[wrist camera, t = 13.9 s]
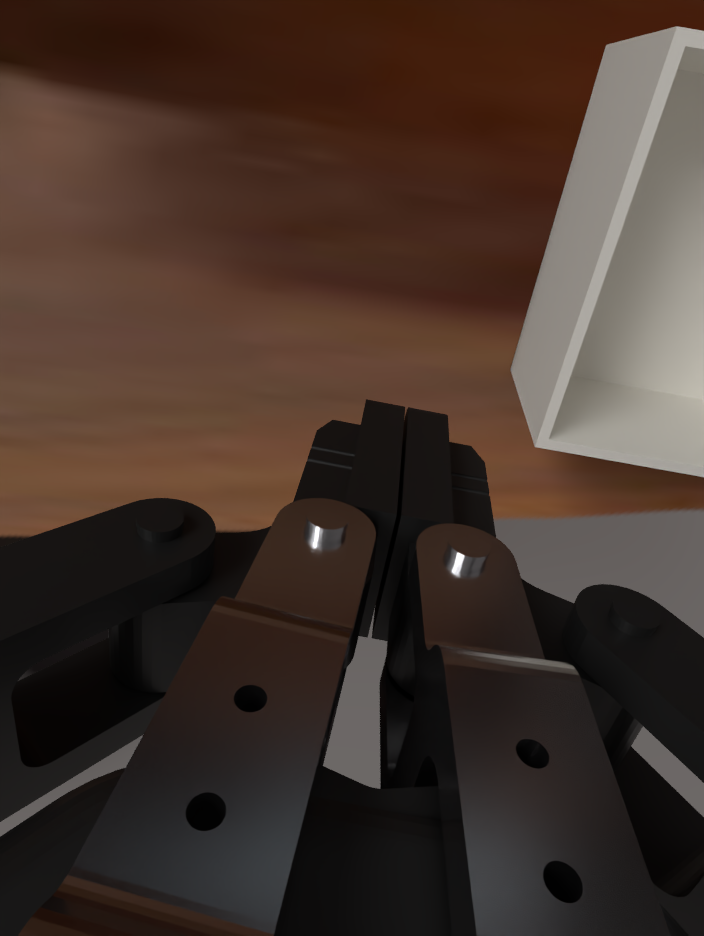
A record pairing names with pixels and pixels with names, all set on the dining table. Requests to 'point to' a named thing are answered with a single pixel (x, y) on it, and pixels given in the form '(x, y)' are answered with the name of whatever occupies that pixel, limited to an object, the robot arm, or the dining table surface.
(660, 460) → the carton
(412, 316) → the dining table surface
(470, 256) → the dining table surface
